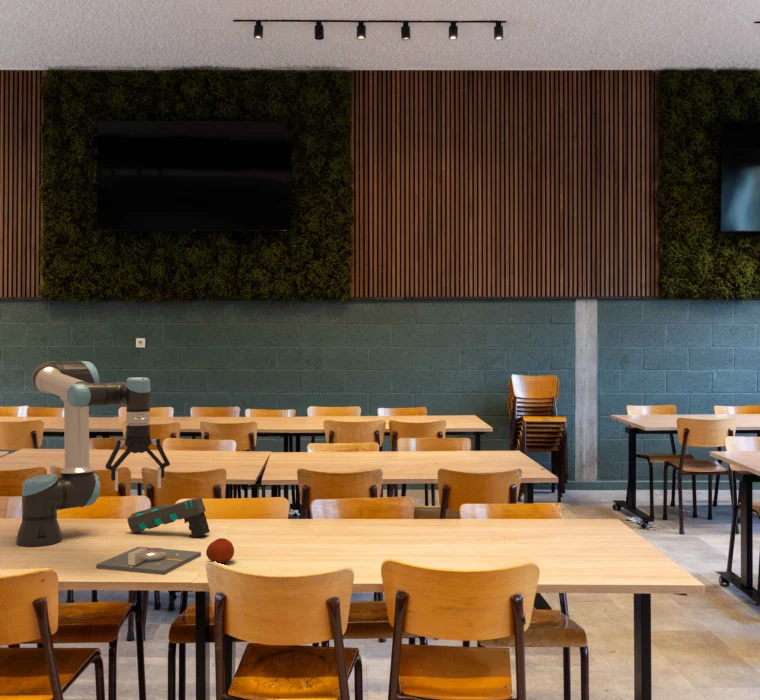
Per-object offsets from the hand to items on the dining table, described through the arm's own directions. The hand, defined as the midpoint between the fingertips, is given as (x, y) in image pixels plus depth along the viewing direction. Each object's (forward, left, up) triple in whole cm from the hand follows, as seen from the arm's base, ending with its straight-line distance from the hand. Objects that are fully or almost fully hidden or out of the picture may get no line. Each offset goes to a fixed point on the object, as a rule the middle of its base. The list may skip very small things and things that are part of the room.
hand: (137, 489), depth 267 cm
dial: (+4, -2, -22) cm, 23 cm away
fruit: (+26, +7, -24) cm, 36 cm away
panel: (+4, +1, -24) cm, 24 cm away
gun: (-10, +37, -24) cm, 45 cm away
